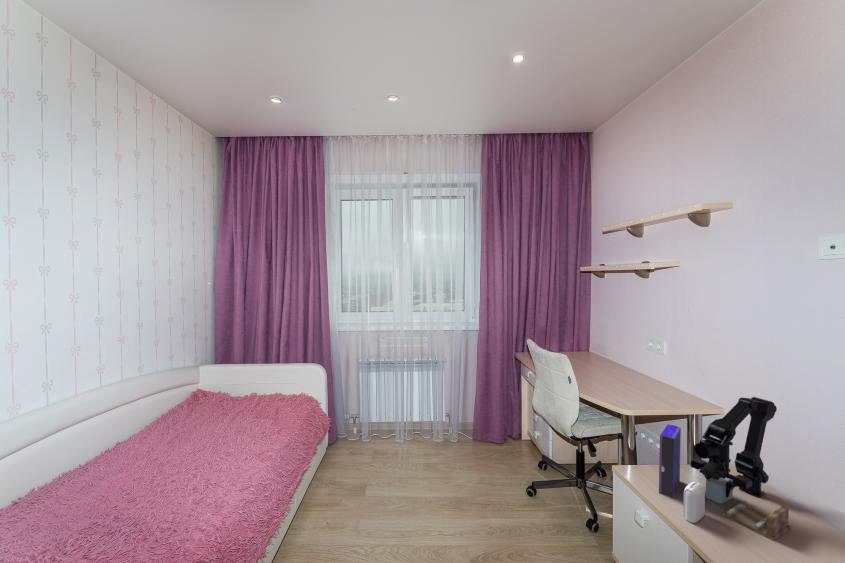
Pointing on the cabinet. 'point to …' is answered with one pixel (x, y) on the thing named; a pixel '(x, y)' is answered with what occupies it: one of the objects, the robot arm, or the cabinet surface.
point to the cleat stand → (760, 520)
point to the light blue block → (717, 490)
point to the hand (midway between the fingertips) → (719, 493)
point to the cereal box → (669, 460)
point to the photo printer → (694, 502)
